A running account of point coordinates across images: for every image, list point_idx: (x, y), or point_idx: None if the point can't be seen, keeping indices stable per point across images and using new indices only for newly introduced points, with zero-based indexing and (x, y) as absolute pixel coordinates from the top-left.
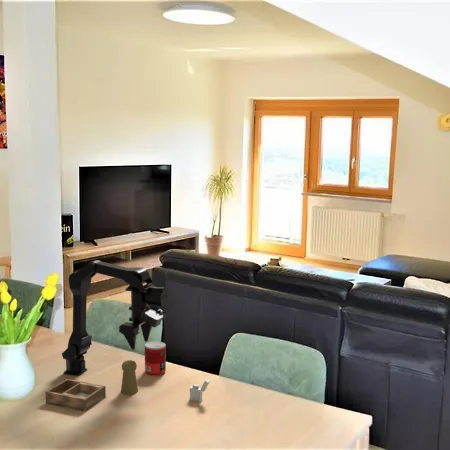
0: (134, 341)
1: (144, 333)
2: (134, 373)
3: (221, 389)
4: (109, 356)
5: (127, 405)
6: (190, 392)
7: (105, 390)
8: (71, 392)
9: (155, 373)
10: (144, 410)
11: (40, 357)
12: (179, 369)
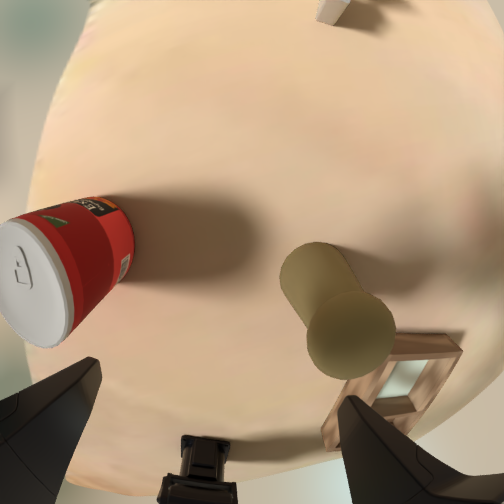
0: (415, 448)
1: (68, 436)
2: (349, 286)
3: None
4: None
5: (423, 238)
6: (343, 10)
7: None
8: (392, 408)
9: (129, 227)
10: (445, 170)
11: None
12: (55, 155)
